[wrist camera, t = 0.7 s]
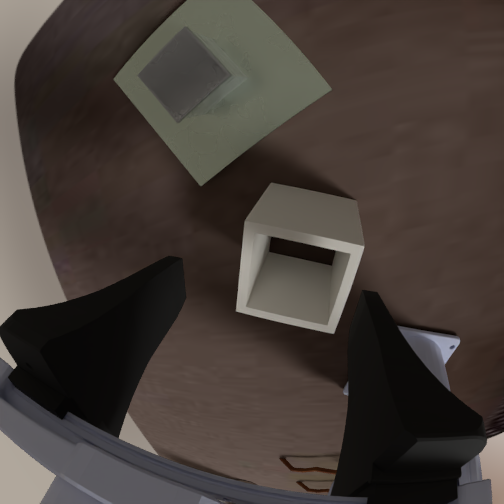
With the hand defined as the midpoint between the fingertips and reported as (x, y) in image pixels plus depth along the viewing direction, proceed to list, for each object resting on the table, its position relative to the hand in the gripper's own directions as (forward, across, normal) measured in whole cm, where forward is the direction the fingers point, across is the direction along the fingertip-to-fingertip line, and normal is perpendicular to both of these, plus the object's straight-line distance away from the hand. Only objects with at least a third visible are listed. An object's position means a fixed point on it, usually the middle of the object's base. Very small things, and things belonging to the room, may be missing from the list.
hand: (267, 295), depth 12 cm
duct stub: (+9, +6, -8) cm, 13 cm away
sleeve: (+9, -1, +1) cm, 9 cm away
